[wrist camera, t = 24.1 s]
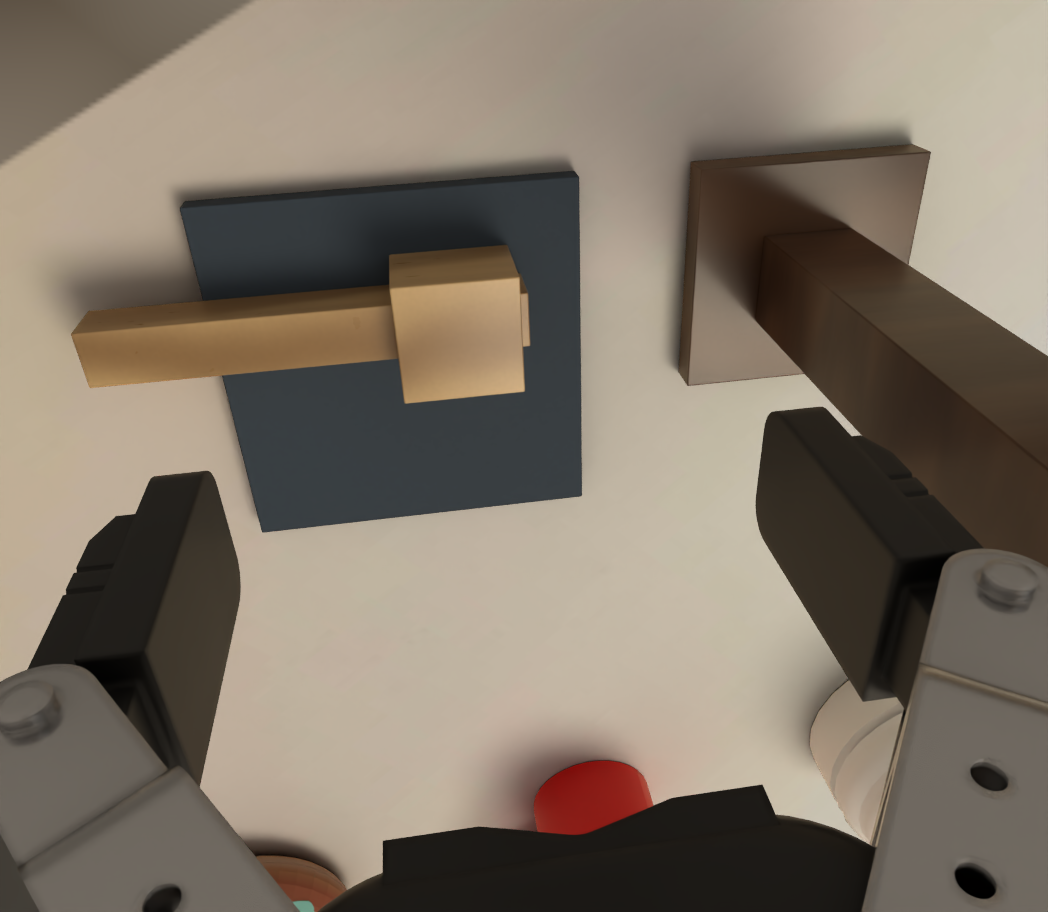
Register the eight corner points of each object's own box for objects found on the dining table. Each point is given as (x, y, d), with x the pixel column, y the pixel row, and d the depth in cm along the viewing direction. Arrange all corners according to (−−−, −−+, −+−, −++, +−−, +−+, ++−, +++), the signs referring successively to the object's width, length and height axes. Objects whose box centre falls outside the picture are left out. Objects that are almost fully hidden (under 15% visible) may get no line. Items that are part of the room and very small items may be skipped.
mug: (464, 835, 59) (474, 952, 52) (601, 743, 56) (630, 855, 49) (537, 878, 62) (555, 992, 56) (670, 794, 59) (706, 904, 53)
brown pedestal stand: (690, 161, 37) (1536, 821, 10) (913, 143, 38) (2252, 701, 11) (678, 372, 42) (1204, 1179, 15) (873, 352, 43) (1700, 1078, 16)
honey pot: (988, 752, 62) (1185, 1022, 47) (815, 801, 62) (955, 1085, 47) (998, 626, 55) (1233, 895, 40) (802, 682, 55) (962, 971, 40)
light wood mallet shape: (78, 280, 35) (45, 318, 31) (519, 243, 37) (532, 275, 33) (114, 390, 38) (87, 436, 34) (524, 350, 39) (537, 391, 36)
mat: (184, 200, 35) (179, 208, 34) (574, 170, 36) (579, 176, 35) (264, 521, 43) (262, 533, 42) (578, 485, 45) (582, 496, 44)
